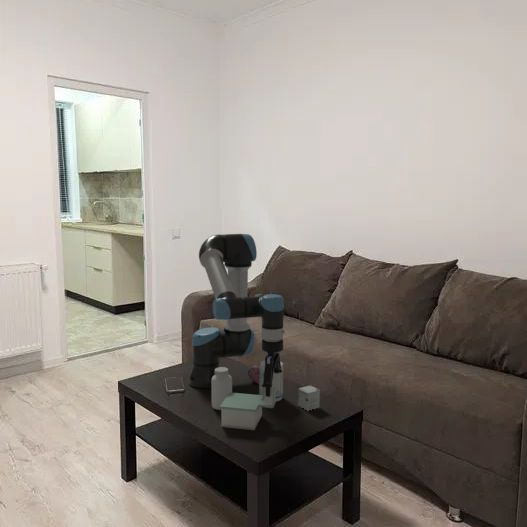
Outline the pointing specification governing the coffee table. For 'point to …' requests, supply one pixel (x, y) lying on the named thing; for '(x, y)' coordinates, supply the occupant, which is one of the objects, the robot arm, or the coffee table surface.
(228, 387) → the pill bottle
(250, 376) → the video game controller
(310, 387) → the skincare box
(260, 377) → the supplement tub
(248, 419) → the box
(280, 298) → the robot arm
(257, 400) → the lid
